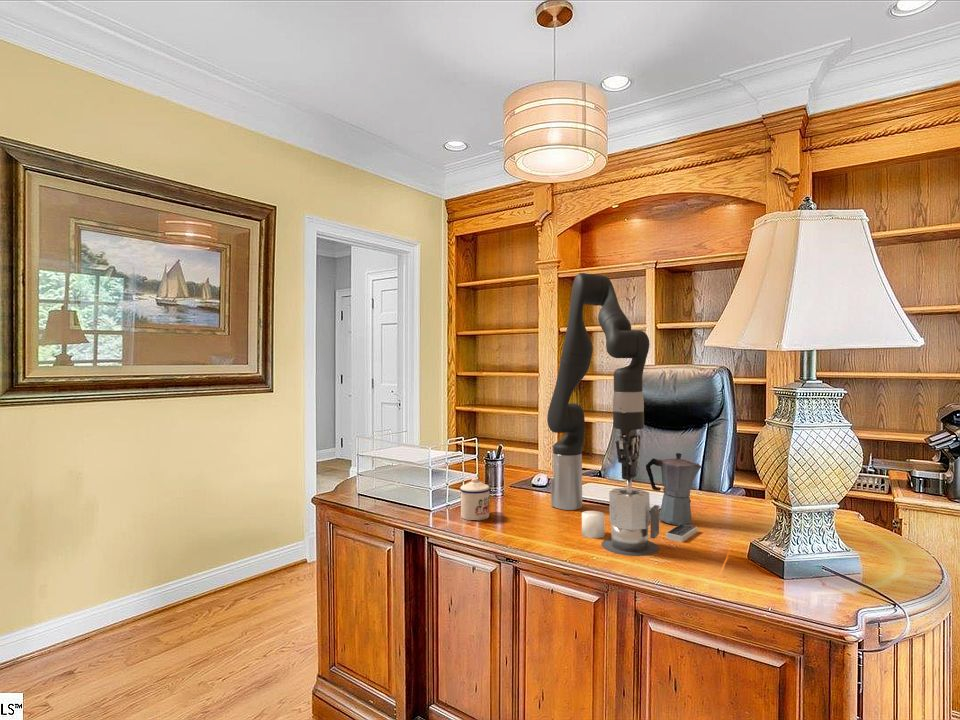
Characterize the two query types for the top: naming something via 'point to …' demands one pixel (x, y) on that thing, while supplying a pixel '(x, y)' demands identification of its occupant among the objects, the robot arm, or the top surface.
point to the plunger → (632, 473)
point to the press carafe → (632, 519)
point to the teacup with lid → (475, 500)
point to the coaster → (651, 550)
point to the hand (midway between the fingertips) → (629, 477)
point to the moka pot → (675, 488)
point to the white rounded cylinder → (593, 524)
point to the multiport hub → (681, 532)
